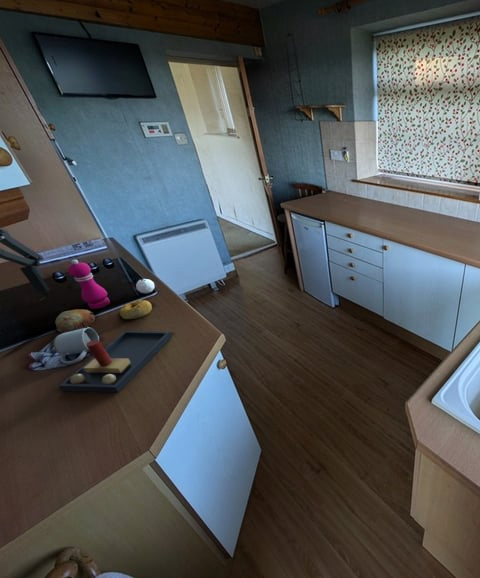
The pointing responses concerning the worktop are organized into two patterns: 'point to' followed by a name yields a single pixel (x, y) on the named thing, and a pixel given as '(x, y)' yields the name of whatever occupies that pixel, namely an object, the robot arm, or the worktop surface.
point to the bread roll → (74, 320)
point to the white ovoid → (145, 285)
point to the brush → (105, 361)
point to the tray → (126, 345)
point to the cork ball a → (77, 379)
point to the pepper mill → (88, 285)
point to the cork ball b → (108, 379)
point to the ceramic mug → (74, 343)
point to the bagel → (135, 309)
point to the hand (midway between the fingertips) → (13, 306)
